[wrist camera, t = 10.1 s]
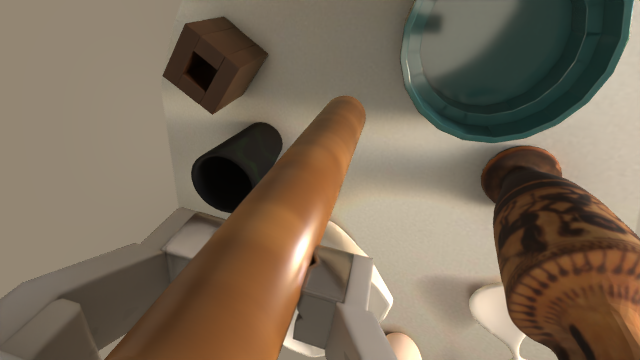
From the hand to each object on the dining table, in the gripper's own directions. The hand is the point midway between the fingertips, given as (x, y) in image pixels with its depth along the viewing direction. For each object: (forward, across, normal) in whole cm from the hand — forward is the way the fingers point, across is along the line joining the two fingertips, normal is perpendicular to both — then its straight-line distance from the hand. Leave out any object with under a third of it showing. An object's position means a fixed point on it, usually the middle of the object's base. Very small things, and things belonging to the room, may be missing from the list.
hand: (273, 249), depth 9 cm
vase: (+34, -20, +11) cm, 41 cm away
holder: (+33, +17, +4) cm, 38 cm away
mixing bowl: (+33, -11, -3) cm, 35 cm away
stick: (+13, 0, 0) cm, 13 cm away
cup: (+34, +13, +15) cm, 39 cm away
